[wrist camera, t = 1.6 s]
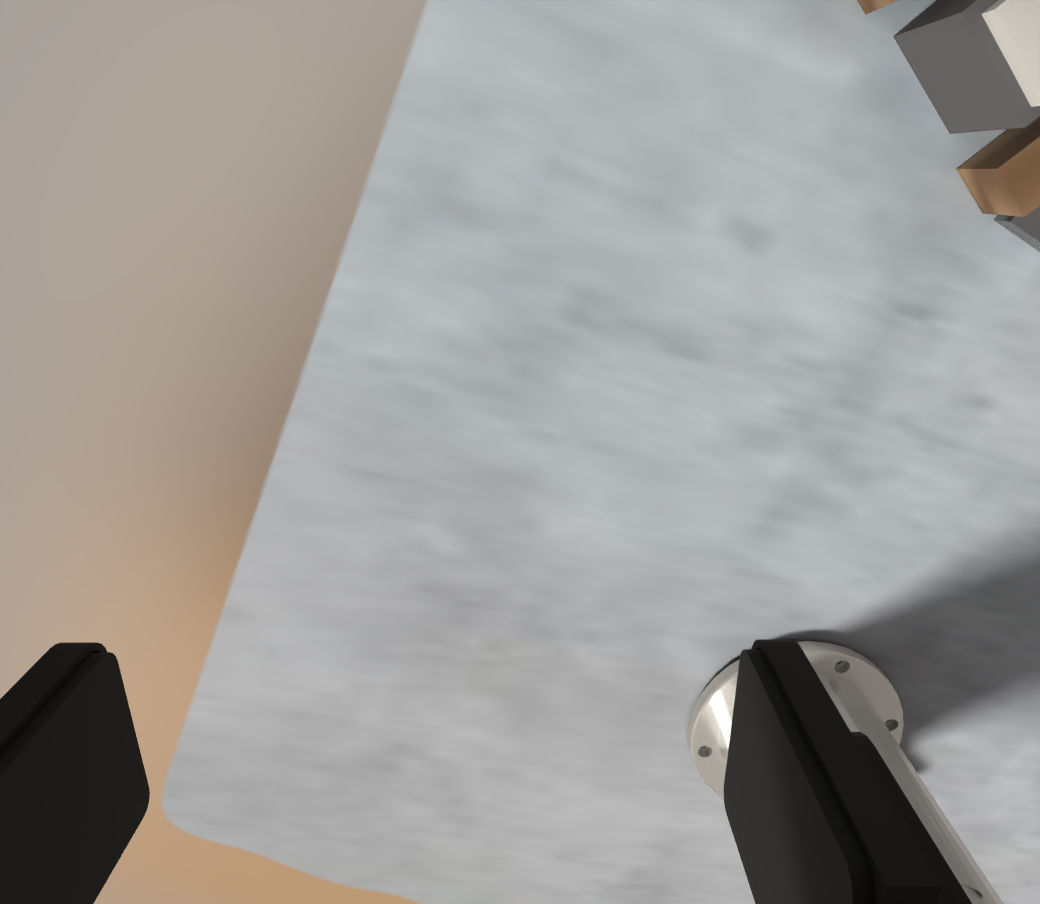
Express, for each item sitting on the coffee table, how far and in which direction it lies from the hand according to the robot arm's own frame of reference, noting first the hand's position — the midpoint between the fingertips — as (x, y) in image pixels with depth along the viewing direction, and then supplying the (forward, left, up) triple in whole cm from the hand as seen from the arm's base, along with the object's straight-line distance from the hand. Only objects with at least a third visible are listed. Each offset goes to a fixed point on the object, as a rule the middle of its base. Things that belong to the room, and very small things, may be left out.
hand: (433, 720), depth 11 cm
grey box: (-4, -24, -27) cm, 36 cm away
